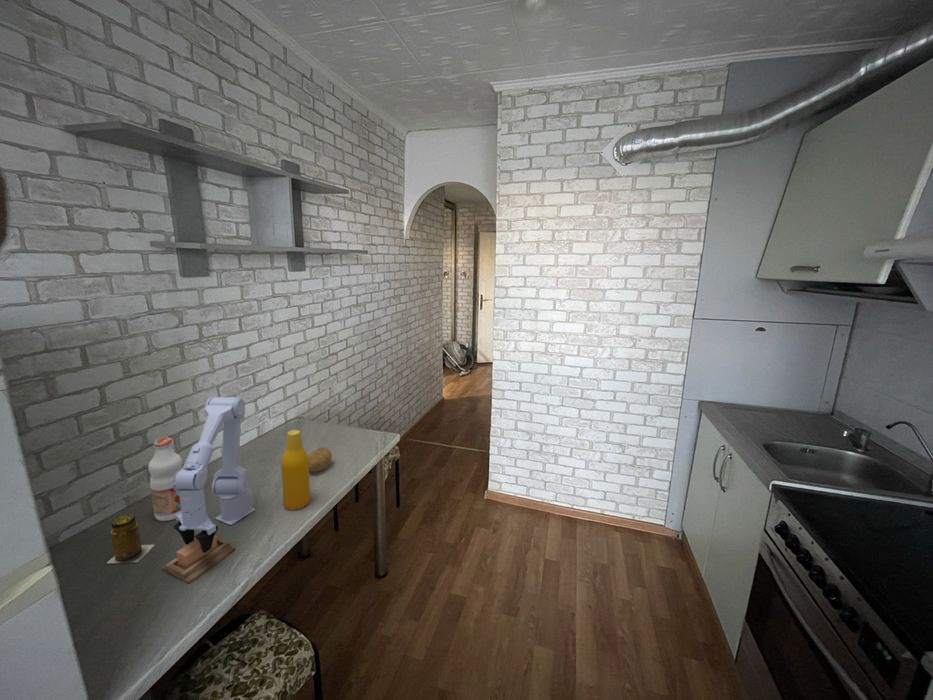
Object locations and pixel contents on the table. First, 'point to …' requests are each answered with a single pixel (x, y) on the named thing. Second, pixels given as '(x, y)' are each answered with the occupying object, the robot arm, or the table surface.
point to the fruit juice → (164, 480)
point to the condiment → (127, 541)
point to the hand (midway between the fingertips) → (198, 546)
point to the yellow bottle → (295, 472)
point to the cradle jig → (200, 562)
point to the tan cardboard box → (192, 553)
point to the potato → (319, 459)
